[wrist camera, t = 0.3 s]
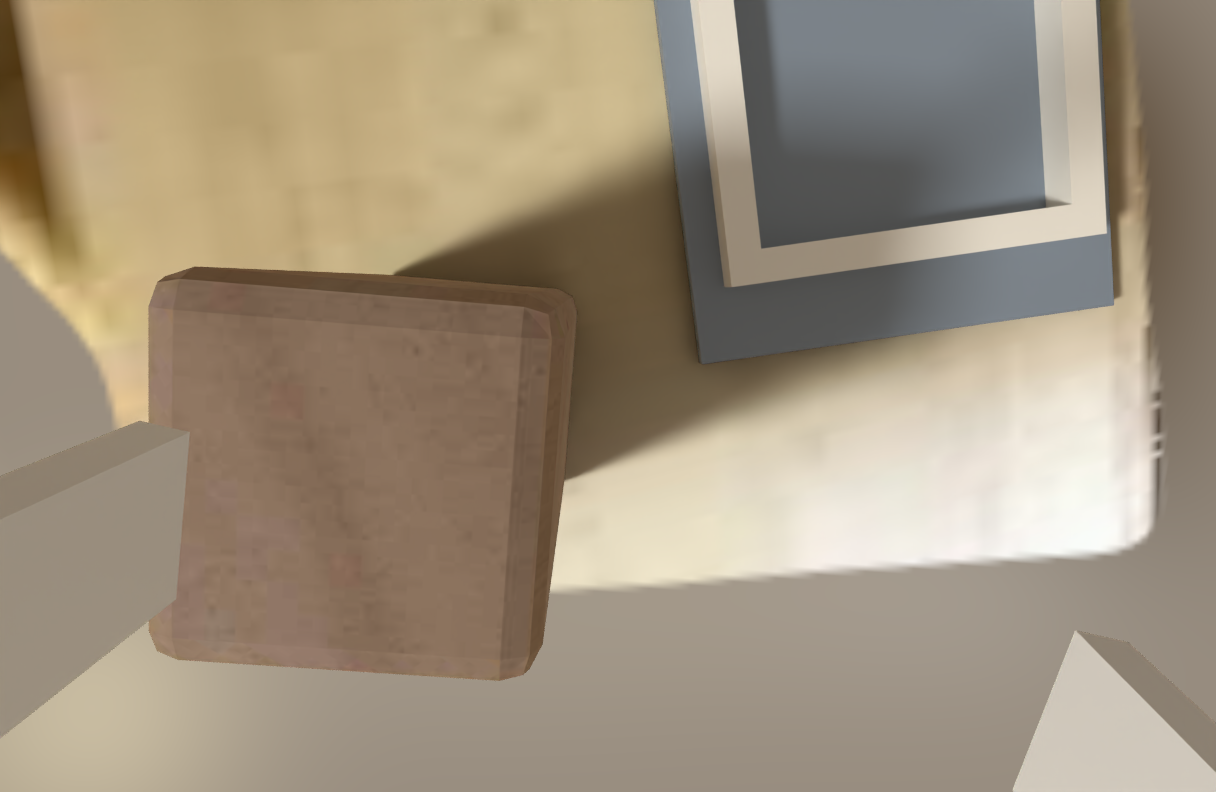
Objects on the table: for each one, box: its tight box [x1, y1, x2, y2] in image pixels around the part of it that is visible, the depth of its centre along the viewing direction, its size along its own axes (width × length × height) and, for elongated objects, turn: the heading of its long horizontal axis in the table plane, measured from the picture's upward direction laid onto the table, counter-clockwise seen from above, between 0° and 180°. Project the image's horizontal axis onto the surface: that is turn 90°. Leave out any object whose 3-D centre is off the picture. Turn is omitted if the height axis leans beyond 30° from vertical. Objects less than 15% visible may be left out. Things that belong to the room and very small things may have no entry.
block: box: [149, 267, 577, 681], centre depth 29 cm, size 10×10×20 cm
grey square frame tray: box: [654, 0, 1114, 364], centre depth 35 cm, size 24×20×3 cm
